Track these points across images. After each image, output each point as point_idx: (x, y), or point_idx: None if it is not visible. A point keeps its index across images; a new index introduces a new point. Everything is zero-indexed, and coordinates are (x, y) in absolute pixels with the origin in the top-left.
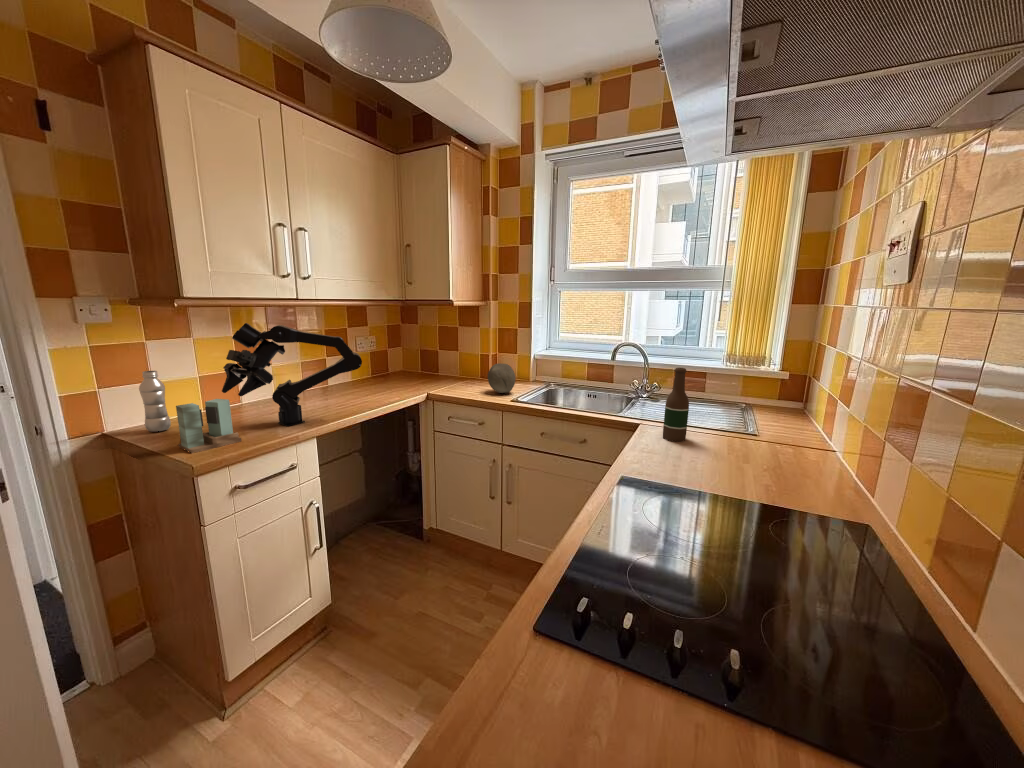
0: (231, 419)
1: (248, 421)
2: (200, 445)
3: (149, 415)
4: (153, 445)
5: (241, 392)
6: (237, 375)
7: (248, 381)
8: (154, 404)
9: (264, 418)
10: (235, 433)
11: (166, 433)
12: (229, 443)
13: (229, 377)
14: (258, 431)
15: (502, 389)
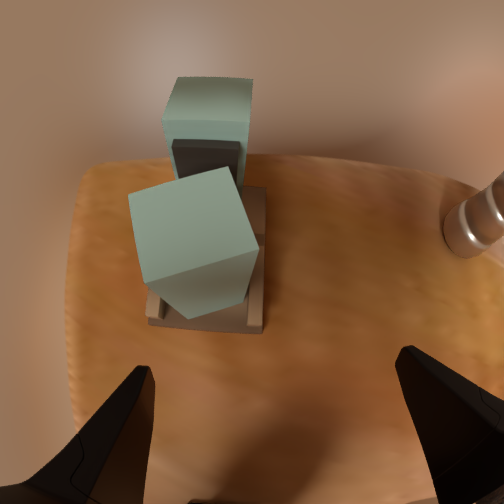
0: (175, 308)
1: (382, 450)
2: None
3: (474, 196)
4: (337, 172)
5: (123, 388)
6: (491, 497)
7: (47, 472)
8: (493, 190)
9: (370, 494)
10: (147, 305)
11: (427, 237)
12: None
13: (493, 430)
14: (220, 426)
15: None
